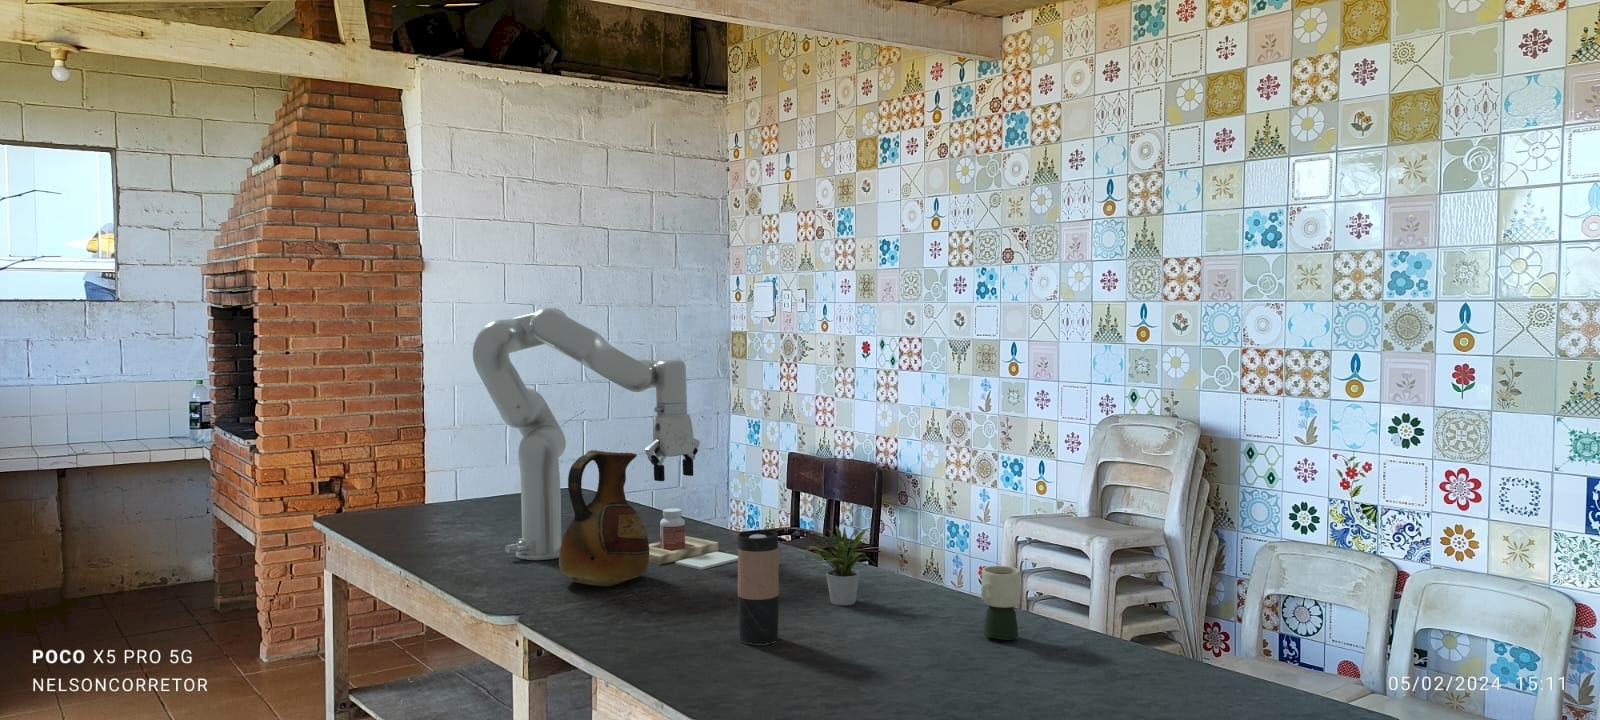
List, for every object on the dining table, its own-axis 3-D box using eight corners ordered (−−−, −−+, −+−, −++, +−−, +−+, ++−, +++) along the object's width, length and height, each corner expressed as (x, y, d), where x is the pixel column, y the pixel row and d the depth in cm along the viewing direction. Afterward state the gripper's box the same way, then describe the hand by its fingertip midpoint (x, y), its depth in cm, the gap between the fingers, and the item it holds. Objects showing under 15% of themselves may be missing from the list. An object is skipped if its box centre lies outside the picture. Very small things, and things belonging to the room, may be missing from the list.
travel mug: (764, 648, 206) (763, 540, 205) (730, 642, 210) (729, 535, 209) (786, 638, 212) (786, 532, 211) (753, 631, 217) (752, 528, 215)
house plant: (844, 588, 249) (844, 514, 248) (892, 599, 239) (892, 523, 238) (798, 600, 239) (797, 523, 238) (845, 613, 229) (845, 533, 228)
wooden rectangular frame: (659, 564, 271) (658, 556, 271) (626, 557, 279) (626, 549, 279) (718, 550, 286) (718, 542, 286) (685, 543, 294) (685, 536, 294)
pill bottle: (690, 553, 282) (689, 509, 282) (670, 557, 278) (670, 513, 278) (675, 549, 287) (674, 506, 286) (655, 553, 283) (655, 509, 282)
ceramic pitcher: (667, 581, 255) (665, 449, 254) (594, 598, 241) (592, 459, 239) (613, 567, 269) (611, 442, 267) (541, 583, 254) (539, 450, 252)
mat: (701, 569, 266) (701, 567, 266) (675, 563, 272) (675, 561, 272) (742, 559, 276) (742, 556, 276) (716, 553, 282) (716, 551, 282)
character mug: (1004, 628, 218) (1004, 562, 217) (1034, 636, 212) (1034, 568, 212) (967, 640, 211) (967, 571, 210) (997, 649, 205) (997, 578, 205)
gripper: (655, 413, 271) (658, 484, 272) (707, 407, 284) (709, 474, 285) (635, 412, 276) (637, 481, 277) (686, 405, 289) (689, 472, 290)
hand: (674, 478), depth 281 cm, fingers open, 9 cm apart
